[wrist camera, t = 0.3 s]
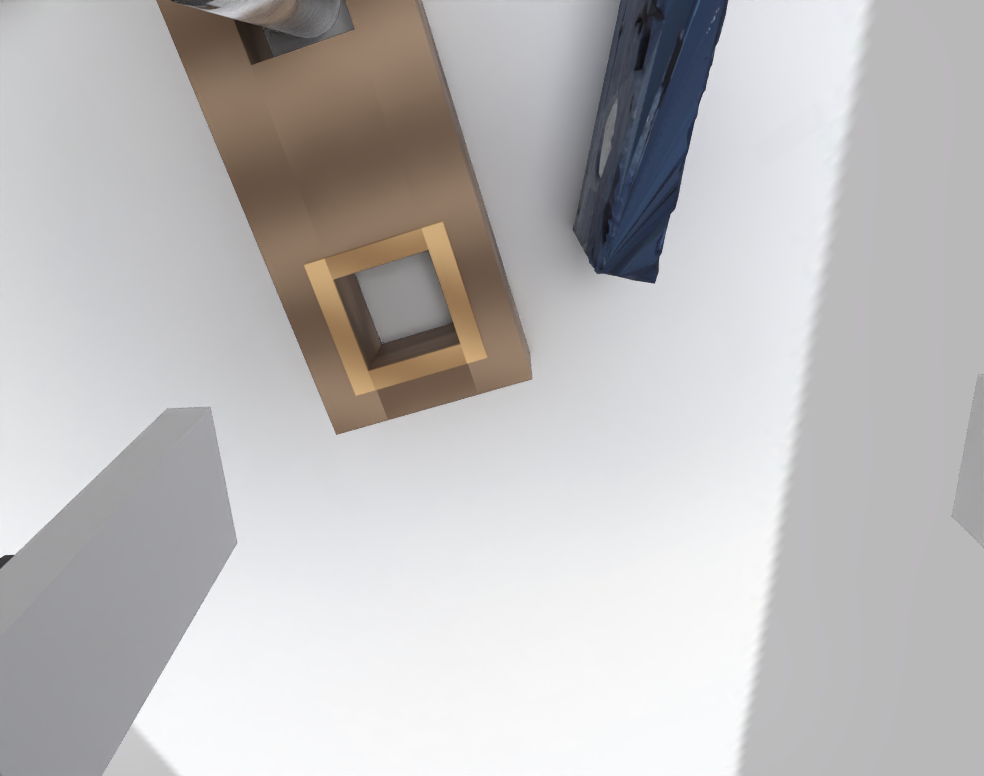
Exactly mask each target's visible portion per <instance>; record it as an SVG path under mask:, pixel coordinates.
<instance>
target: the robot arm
mask: <svg viewBox="0 0 984 776" xmlns="http://www.w3.org/2000/svg"><path fill="white" fill-rule="evenodd" d="M952 517H953V519H955V520H956V521H957V522H958V523H959V524H960V525H961V526H962V527H963V528H964V529H965V530H966V531H967V532H968V533H969V534H970V535H971V536H972V537H973V538H974V539H975V540H976V541H977V542H978V543H979V544H980V545H981V546H983V547H984V374H978V376H977V381H976V386H975V392H974V397H973V403H972V408H971V413H970V419H969V424H968V429H967V435H966V440H965V446H964V451H963V456H962V462H961V467H960V473H959V478H958V483H957V489H956V494H955V500H954V505H953V510H952ZM236 544H237V539H236V534H235V529H234V524H233V519H232V514H231V508H230V503H229V498H228V493H227V488H226V483H225V478H224V473H223V468H222V463H221V458H220V453H219V448H218V443H217V437H216V432H215V427H214V422H213V417H212V412H211V407H195V408H171V409H166V410H165V411H164V412H163V413H162V414H161V415H160V416H159V417H158V418H157V419H156V420H155V421H154V422H153V423H152V424H151V425H150V426H149V427H148V428H147V429H145V430H144V431H143V432H142V433H141V434H140V435H139V436H138V437H137V438H136V439H135V440H134V441H133V442H132V443H131V444H130V445H129V446H128V447H127V448H126V449H125V450H124V451H123V452H122V453H121V454H119V455H118V456H117V457H116V458H115V459H114V460H113V461H112V462H111V463H110V464H109V465H108V466H107V467H106V468H105V469H104V470H103V471H102V472H101V473H100V474H99V475H98V476H97V477H96V478H94V479H93V480H92V481H91V482H90V483H89V484H88V485H87V486H86V487H85V488H84V489H83V490H82V491H81V492H80V493H79V494H78V495H77V496H76V497H75V498H74V499H73V500H72V501H71V502H70V503H68V504H67V505H66V506H65V507H64V508H63V509H62V510H61V511H60V512H59V513H58V514H57V515H56V516H55V517H54V518H53V519H52V520H51V521H50V522H49V523H48V524H47V525H46V526H45V527H44V528H42V529H41V530H40V531H39V532H38V533H37V534H36V535H35V536H34V537H33V538H32V539H31V540H30V541H29V542H28V543H27V544H26V545H25V546H24V547H23V548H22V549H21V550H20V551H19V552H18V553H16V554H15V555H5V556H3V557H2V558H0V776H102V774H103V773H104V771H105V769H106V768H107V766H108V764H109V762H110V761H111V759H112V757H113V755H114V754H115V752H116V750H117V749H118V747H119V745H120V744H121V742H122V740H123V738H124V737H125V735H126V733H127V731H128V730H129V728H130V726H131V725H132V723H133V721H134V719H135V718H136V716H137V714H138V713H139V711H140V709H141V707H142V706H143V704H144V702H145V701H146V699H147V697H148V695H149V694H150V692H151V690H152V689H153V687H154V685H155V683H156V682H157V680H158V678H159V676H160V675H161V673H162V671H163V670H164V668H165V666H166V664H167V663H168V661H169V659H170V658H171V656H172V654H173V652H174V651H175V649H176V647H177V646H178V644H179V642H180V640H181V639H182V637H183V635H184V634H185V632H186V630H187V628H188V627H189V625H190V623H191V622H192V620H193V618H194V616H195V615H196V613H197V611H198V609H199V608H200V606H201V604H202V603H203V601H204V599H205V597H206V596H207V594H208V592H209V591H210V589H211V587H212V585H213V584H214V582H215V580H216V579H217V577H218V575H219V573H220V572H221V570H222V568H223V567H224V565H225V563H226V561H227V560H228V558H229V556H230V555H231V553H232V551H233V549H234V548H235V546H236Z"/></svg>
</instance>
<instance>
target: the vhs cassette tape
mask: <svg viewBox="0 0 984 776" xmlns="http://www.w3.org/2000/svg"><path fill="white" fill-rule="evenodd" d="M727 4H728V0H621V2H620V6H619V11H618V17H617V22H616V27H615V31H614V36H613V41H612V46H611V50H610V55H609V60H608V65H607V70H606V74H605V79H604V84H603V89H602V93H601V98H600V103H599V108H598V112H597V117H596V122H595V127H594V131H593V136H592V141H591V146H590V151H589V156H588V161H587V166H586V171H585V176H584V180H583V185H582V190H581V196H580V201H579V206H578V210H577V215H576V220H575V225H574V228H573V231H574V232H575V235H576V236H577V238H578V240H579V242H580V244H581V246H582V247H583V249H584V251H585V253H586V254H587V256H588V258H589V263H590V264H591V265H592V267H593V268H594V269H595V272H596V273H597V274H603V273H604V274H608V275H613V276H618V277H623V278H627V279H630V280H635V281H642V282H648V283H655V281H656V278H657V275H658V272H659V256H660V255H661V253H662V249H663V244H664V239H665V234H666V230H667V226H668V222H669V218H670V214H671V213H672V212H673V211H674V210H675V208H676V204H677V200H678V195H679V190H680V185H681V179H682V174H683V169H684V164H685V159H686V155H687V153H688V149H689V145H690V140H691V136H692V131H693V126H694V122H695V119H696V117H697V114H698V107H699V103H700V100H701V97H702V94H703V92H704V91H705V89H706V84H707V79H708V76H709V70H710V67H711V66H712V62H713V57H714V52H715V46H716V45H717V43H718V41H719V37H720V34H721V30H722V26H723V23H724V19H725V15H726V9H727Z"/></svg>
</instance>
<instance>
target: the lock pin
mask: <svg viewBox="0 0 984 776" xmlns="http://www.w3.org/2000/svg"><path fill="white" fill-rule="evenodd" d="M171 1H173V2H176V3H179V4H182V5H186V6H189V7H193V8H197V9H200V10H204V11H207V12H211V13H215V14H218V15H222V16H225V17H229V18H233V19H236V20H240V21H243V22H247V23H251V24H254V25H258V26H262V27H265V28H269V29H272V30H276V31H280V32H283V33H287V34H290V35H294V36H298V37H302V38H314V37H318V36H320V35H322V34H324V33H326V32H327V31H328V30H329V29H330V28H331V27H332V26H333V25H334V23H335V21H336V19H337V17H338V14H339V10H340V0H171Z"/></svg>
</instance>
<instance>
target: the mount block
mask: <svg viewBox="0 0 984 776" xmlns="http://www.w3.org/2000/svg"><path fill="white" fill-rule="evenodd" d="M345 2H346V5H347V8H348V11H349V14H350V17H351V20H352V23H353V26H354V30H351V31H348V32H345V33H342V34H339V35H337V36H334V37H331V38H328V39H325V40H322V41H319V42H317V43H314V44H311V45H308V46H305V47H302V48H299V49H297V50H294V51H291V52H288V53H285V54H282V55H279V56H277V57H274V58H273V55H272V52H271V50H270V47H269V44H268V42H267V39H266V36H265V34H264V31H263V28H262V26H258V25H254V24H251V23H247V22H243V21H240V20H236V19H233V18H229V17H225V16H222V15H218V14H215V13H211V12H207V11H204V10H200V9H197V8H193V7H189V6H186V5H182V4H179V3H176V2H173V1H171V0H157V3H158V5H159V8H160V10H161V13H162V15H163V17H164V20H165V22H166V25H167V27H168V29H169V32H170V34H171V37H172V39H173V41H174V44H175V46H176V49H177V51H178V54H179V56H180V58H181V61H182V63H183V66H184V68H185V70H186V73H187V75H188V78H189V80H190V83H191V85H192V87H193V90H194V92H195V95H196V97H197V99H198V102H199V104H200V107H201V109H202V111H203V114H204V116H205V119H206V121H207V124H208V126H209V128H210V131H211V133H212V136H213V138H214V140H215V143H216V145H217V148H218V150H219V153H220V155H221V157H222V160H223V162H224V165H225V167H226V169H227V172H228V174H229V177H230V179H231V181H232V184H233V186H234V189H235V191H236V194H237V196H238V198H239V201H240V203H241V206H242V208H243V210H244V213H245V215H246V218H247V220H248V223H249V225H250V227H251V230H252V232H253V235H254V237H255V239H256V242H257V244H258V247H259V249H260V251H261V254H262V256H263V259H264V261H265V264H266V266H267V268H268V271H269V273H270V276H271V278H272V280H273V283H274V285H275V288H276V290H277V293H278V295H279V297H280V300H281V302H282V305H283V307H284V309H285V312H286V314H287V317H288V319H289V321H290V324H291V326H292V329H293V331H294V334H295V336H296V338H297V341H298V343H299V346H300V348H301V350H302V353H303V355H304V358H305V360H306V363H307V365H308V367H309V370H310V372H311V375H312V377H313V379H314V382H315V384H316V387H317V389H318V391H319V394H320V396H321V399H322V401H323V404H324V406H325V408H326V411H327V413H328V416H329V418H330V420H331V423H332V425H333V428H334V430H335V433H336V435H337V434H341V433H344V432H348V431H351V430H355V429H358V428H362V427H365V426H369V425H372V424H376V423H380V422H383V421H387V420H390V419H394V418H397V417H401V416H404V415H408V414H411V413H415V412H418V411H422V410H425V409H429V408H432V407H436V406H439V405H443V404H446V403H450V402H454V401H457V400H461V399H464V398H468V397H471V396H475V395H478V394H482V393H485V392H489V391H492V390H496V389H499V388H503V387H506V386H510V385H513V384H517V383H520V382H524V381H527V380H531V379H532V370H531V359H530V352H529V348H528V345H527V342H526V339H525V335H524V332H523V329H522V326H521V322H520V319H519V316H518V313H517V309H516V306H515V303H514V300H513V296H512V293H511V290H510V287H509V283H508V280H507V277H506V274H505V270H504V267H503V264H502V261H501V257H500V254H499V251H498V248H497V244H496V241H495V238H494V235H493V231H492V228H491V225H490V222H489V218H488V215H487V212H486V209H485V205H484V202H483V199H482V196H481V192H480V189H479V186H478V183H477V179H476V176H475V173H474V170H473V166H472V163H471V160H470V157H469V153H468V150H467V147H466V144H465V140H464V137H463V134H462V131H461V127H460V124H459V121H458V118H457V114H456V111H455V108H454V105H453V101H452V98H451V95H450V92H449V88H448V85H447V82H446V78H445V75H444V72H443V69H442V65H441V62H440V59H439V56H438V52H437V49H436V46H435V43H434V39H433V36H432V33H431V30H430V26H429V23H428V20H427V17H426V13H425V10H424V7H423V4H422V0H345ZM427 250H429V253H430V256H431V258H432V261H433V264H434V267H435V270H436V273H437V276H438V279H439V282H440V285H441V288H442V291H443V294H444V297H445V300H446V303H447V306H448V309H449V312H450V315H451V318H452V320H453V323H452V324H449V325H446V326H442V327H439V328H436V329H432V330H429V331H425V332H422V333H419V334H415V335H412V336H409V337H405V338H402V339H399V340H395V341H392V342H388V343H385V344H382V345H381V342H380V340H379V337H378V334H377V332H376V329H375V326H374V324H373V321H372V318H371V316H370V313H369V310H368V308H367V305H366V302H365V300H364V297H363V294H362V292H361V289H360V287H359V284H358V281H357V279H356V276H355V273H356V272H359V271H362V270H365V269H369V268H372V267H375V266H378V265H382V264H385V263H388V262H391V261H395V260H398V259H401V258H404V257H407V256H411V255H414V254H417V253H420V252H424V251H427Z"/></svg>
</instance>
